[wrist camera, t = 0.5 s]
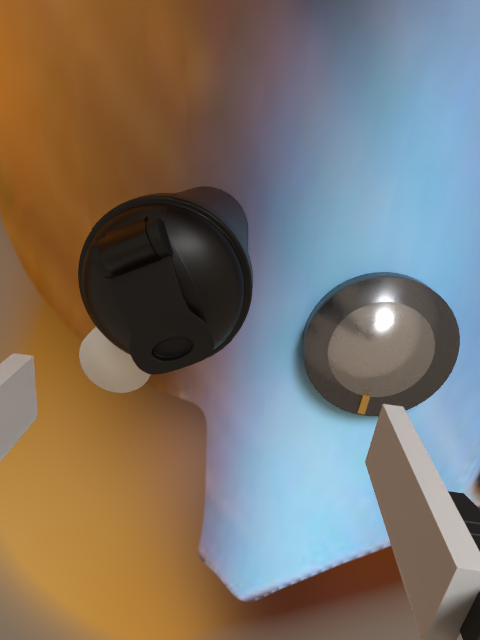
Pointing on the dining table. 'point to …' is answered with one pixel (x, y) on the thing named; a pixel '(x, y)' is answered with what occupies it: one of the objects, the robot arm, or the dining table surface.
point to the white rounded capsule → (109, 365)
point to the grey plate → (380, 343)
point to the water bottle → (169, 276)
